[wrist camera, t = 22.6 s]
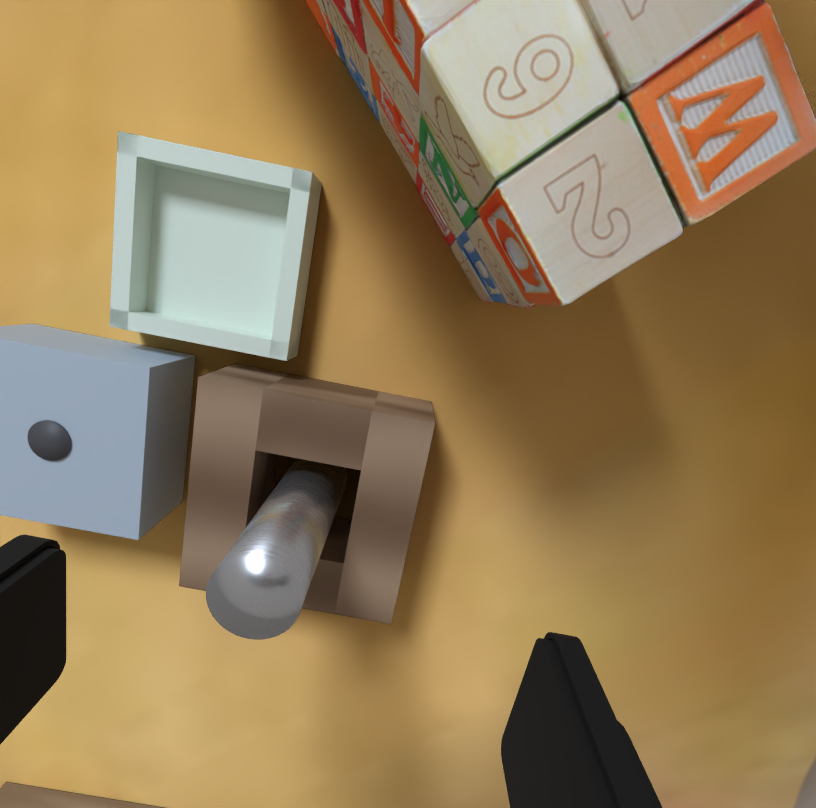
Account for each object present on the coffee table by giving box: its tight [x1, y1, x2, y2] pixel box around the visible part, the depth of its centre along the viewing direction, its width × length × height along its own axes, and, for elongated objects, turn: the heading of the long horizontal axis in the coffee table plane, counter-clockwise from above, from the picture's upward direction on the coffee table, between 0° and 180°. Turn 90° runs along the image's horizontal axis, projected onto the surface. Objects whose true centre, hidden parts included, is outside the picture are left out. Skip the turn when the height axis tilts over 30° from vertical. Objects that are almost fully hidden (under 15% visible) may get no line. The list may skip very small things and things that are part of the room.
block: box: [0, 324, 195, 540], centre depth 21 cm, size 8×8×4 cm
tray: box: [110, 131, 322, 361], centre depth 20 cm, size 8×8×2 cm
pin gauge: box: [206, 458, 347, 639], centre depth 19 cm, size 3×3×10 cm
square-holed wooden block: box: [179, 363, 435, 624], centre depth 22 cm, size 10×10×4 cm
